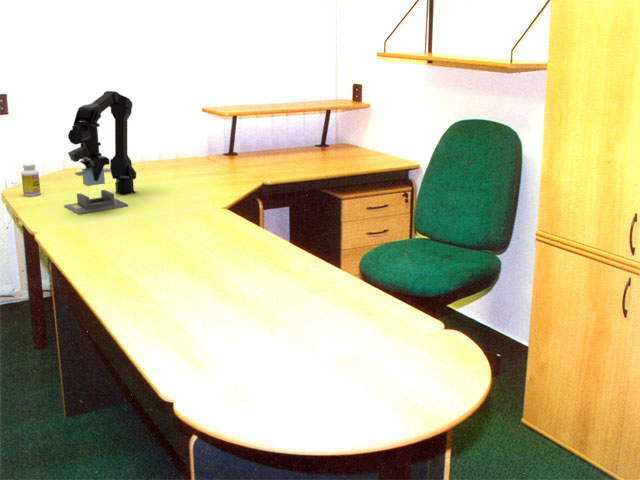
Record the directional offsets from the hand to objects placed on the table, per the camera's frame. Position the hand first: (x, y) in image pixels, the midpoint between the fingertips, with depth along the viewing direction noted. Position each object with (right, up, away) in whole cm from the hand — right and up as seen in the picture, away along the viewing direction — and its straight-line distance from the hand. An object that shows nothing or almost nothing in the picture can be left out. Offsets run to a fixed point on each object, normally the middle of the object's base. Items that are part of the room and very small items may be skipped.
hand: (93, 179), depth 277 cm
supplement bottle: (-32, -5, +20) cm, 38 cm away
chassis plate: (0, -10, +3) cm, 11 cm away
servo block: (0, -1, 0) cm, 2 cm away
